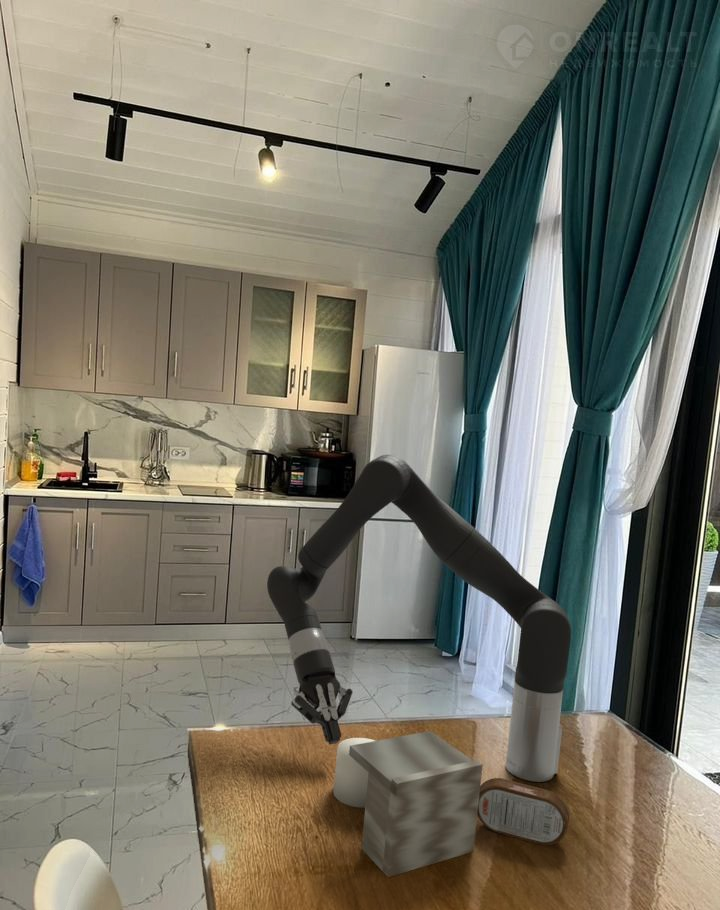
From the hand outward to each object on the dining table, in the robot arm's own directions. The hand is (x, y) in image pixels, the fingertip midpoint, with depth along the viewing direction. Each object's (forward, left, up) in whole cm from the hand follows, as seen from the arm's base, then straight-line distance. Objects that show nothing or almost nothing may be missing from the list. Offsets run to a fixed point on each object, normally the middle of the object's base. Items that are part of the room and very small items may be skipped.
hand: (334, 742), depth 136 cm
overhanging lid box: (0, +24, -5) cm, 24 cm away
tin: (-18, +31, -5) cm, 36 cm away
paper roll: (0, +10, -5) cm, 11 cm away
